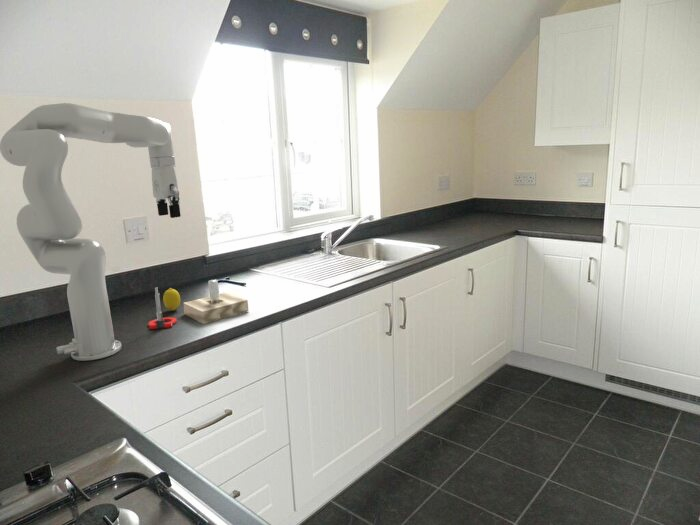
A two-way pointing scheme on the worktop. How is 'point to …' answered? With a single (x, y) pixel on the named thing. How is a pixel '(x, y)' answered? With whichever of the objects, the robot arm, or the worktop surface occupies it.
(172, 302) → the lemon
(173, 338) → the worktop surface
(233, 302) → the hole block
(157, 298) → the red grey post stand
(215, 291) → the peg
